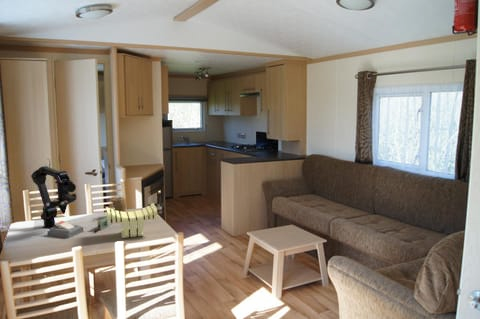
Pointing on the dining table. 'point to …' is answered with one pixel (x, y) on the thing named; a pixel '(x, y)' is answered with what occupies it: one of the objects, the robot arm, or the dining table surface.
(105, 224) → the handheld radio
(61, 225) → the breaker switch
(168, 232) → the dining table surface
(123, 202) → the stone cup
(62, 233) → the frame
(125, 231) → the slatted curved stool
